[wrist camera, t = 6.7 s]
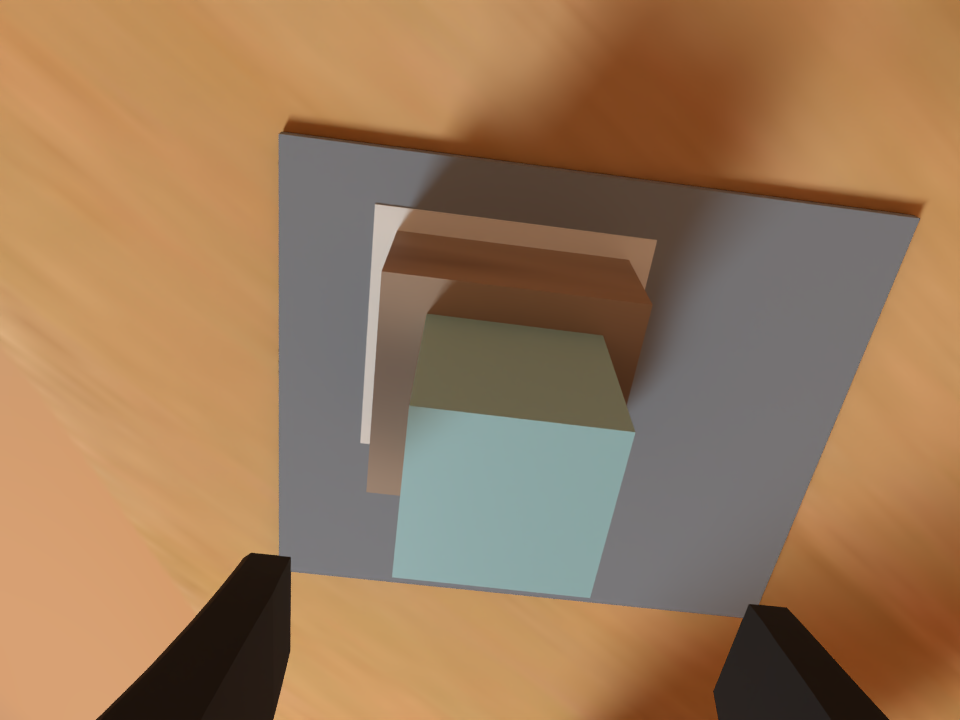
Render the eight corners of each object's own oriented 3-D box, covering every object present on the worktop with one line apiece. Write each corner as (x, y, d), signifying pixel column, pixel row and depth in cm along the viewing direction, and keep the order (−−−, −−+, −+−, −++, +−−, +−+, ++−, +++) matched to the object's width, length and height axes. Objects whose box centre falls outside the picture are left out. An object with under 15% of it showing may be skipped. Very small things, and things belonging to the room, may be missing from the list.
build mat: (749, 612, 25) (753, 619, 24) (281, 563, 24) (278, 571, 23) (913, 215, 18) (920, 219, 18) (282, 131, 17) (278, 134, 17)
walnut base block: (583, 451, 21) (597, 517, 19) (382, 428, 21) (366, 492, 18) (629, 259, 18) (652, 304, 16) (397, 230, 18) (381, 271, 16)
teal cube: (569, 478, 18) (590, 598, 14) (411, 460, 18) (391, 577, 14) (603, 335, 16) (635, 432, 13) (426, 313, 16) (408, 405, 12)
